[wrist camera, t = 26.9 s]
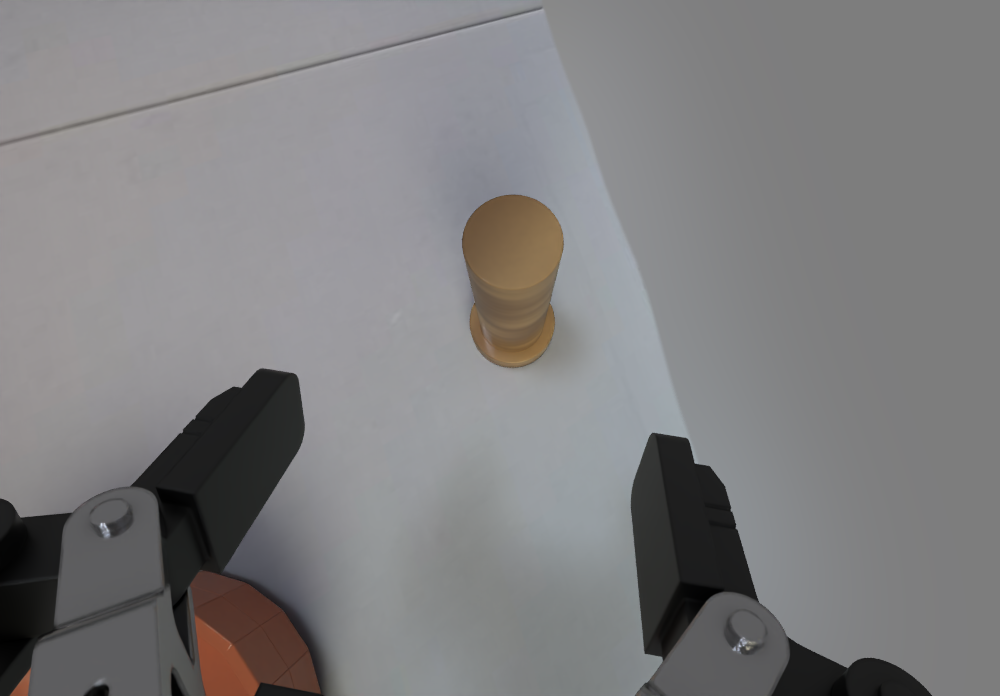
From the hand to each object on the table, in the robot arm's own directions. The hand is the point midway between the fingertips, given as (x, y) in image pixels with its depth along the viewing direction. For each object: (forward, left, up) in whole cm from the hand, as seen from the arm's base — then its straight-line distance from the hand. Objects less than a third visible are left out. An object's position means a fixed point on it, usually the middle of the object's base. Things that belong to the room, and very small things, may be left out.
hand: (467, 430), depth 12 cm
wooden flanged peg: (+3, -6, -18) cm, 20 cm away
